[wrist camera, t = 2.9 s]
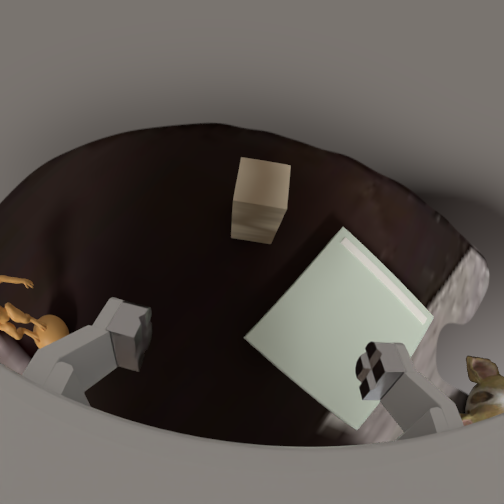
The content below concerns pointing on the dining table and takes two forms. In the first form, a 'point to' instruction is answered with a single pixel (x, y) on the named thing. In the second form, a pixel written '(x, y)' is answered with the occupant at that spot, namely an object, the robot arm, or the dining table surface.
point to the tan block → (259, 200)
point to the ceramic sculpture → (483, 391)
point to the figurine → (45, 327)
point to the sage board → (338, 324)
